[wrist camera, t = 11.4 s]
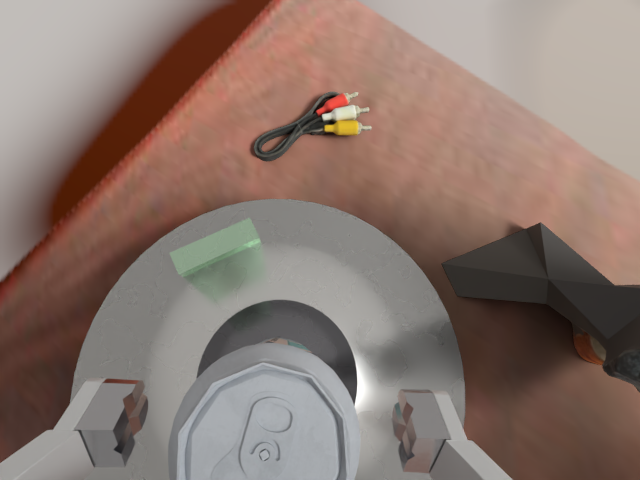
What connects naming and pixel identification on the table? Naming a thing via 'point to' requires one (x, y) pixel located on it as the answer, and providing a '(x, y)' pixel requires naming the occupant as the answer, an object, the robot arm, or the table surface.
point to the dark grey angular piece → (558, 294)
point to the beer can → (266, 419)
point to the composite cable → (316, 124)
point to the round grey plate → (274, 320)
